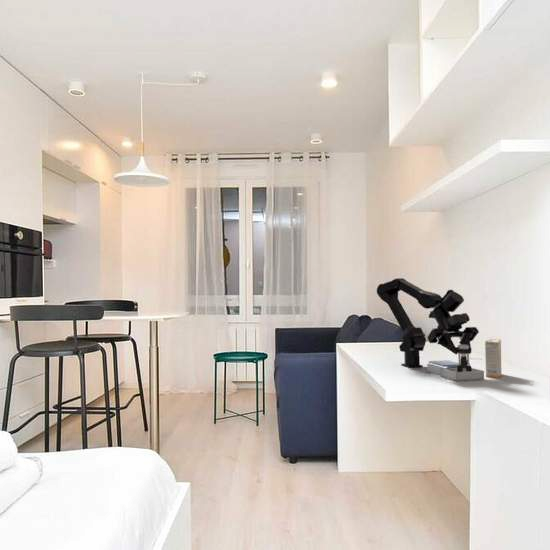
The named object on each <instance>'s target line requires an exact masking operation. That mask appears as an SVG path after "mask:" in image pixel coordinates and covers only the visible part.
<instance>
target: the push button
mask: <svg viewBox="0 0 550 550" xmlns="http://www.w3.org/2000/svg"><path fill="white" fill-rule="evenodd" d="M455 347H456V346H455ZM456 349H457V351H458V355H457V356H458V362H457V363H458V365H457V368H452V369H457V371H454V372H467V371H472V368H473V367H472V366H471V363H470V354H472V347H471V348H470V347H469V345H464V344H458V345H457V347H456ZM469 353H470V354H469Z"/></svg>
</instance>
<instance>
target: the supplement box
mask: <svg viewBox="0 0 550 550" xmlns="http://www.w3.org/2000/svg"><path fill="white" fill-rule="evenodd" d="M484 343H485V347H484V348H485V350H484V351H485V352H484V353H485V355H484V356H485V376H486V377H487V378H496V379H499V378H501V376H502V339H500V338H499V339H497V338H487V339H486V340H485V341H484Z"/></svg>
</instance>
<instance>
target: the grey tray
mask: <svg viewBox="0 0 550 550" xmlns="http://www.w3.org/2000/svg"><path fill="white" fill-rule="evenodd" d="M426 365H427V368H426V370H427V372H428V373H431V374H435V375H438V376H440V377H441V378H444V379H447V380H451V381H454V382H465V381H466V382H467V381H477V380H478V381H480V380H485V371H484V370H481V369H478V368H474V367H472V371H467V372H454V371H457V369H452V368H457V366H450V367H443V366H439V365H435V364H432V363H427V364H426Z"/></svg>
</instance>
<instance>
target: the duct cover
mask: <svg viewBox="0 0 550 550" xmlns="http://www.w3.org/2000/svg"><path fill="white" fill-rule="evenodd" d="M458 363H459V362H456V361H452V360H428V364H432V365H436V366H439V367H443V368H447V367H450V366H457V365H458Z"/></svg>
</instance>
